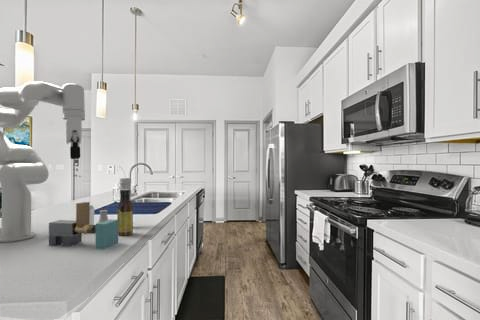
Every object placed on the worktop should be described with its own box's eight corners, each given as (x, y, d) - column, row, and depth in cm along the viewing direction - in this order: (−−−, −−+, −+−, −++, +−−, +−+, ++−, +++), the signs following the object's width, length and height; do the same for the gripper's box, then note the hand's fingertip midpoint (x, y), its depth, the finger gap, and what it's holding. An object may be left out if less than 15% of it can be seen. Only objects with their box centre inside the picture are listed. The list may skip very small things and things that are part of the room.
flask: (115, 231, 122) (116, 209, 122) (103, 235, 115) (103, 212, 115) (103, 230, 124) (103, 208, 125) (90, 233, 118) (90, 211, 118)
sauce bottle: (120, 232, 119) (120, 188, 119) (134, 232, 120) (134, 188, 120) (114, 236, 112) (115, 190, 113) (129, 236, 113) (130, 189, 113)
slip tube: (53, 233, 101) (53, 203, 101) (61, 230, 105) (62, 201, 105) (90, 234, 99) (91, 203, 99) (98, 232, 103) (98, 202, 103)
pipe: (126, 229, 126) (126, 166, 126) (115, 228, 127) (115, 166, 128) (133, 226, 131) (133, 166, 132) (122, 226, 132) (122, 166, 133)
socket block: (95, 248, 96) (95, 223, 96) (109, 242, 104) (109, 219, 104) (104, 249, 95) (105, 224, 96) (118, 242, 103) (118, 219, 104)
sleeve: (47, 245, 100) (47, 223, 101) (60, 241, 106) (60, 219, 106) (70, 246, 99) (71, 223, 99) (82, 242, 105) (82, 220, 105)
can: (77, 230, 124) (77, 204, 124) (94, 228, 127) (94, 203, 127) (75, 233, 118) (75, 206, 118) (93, 232, 121) (93, 205, 121)
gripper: (63, 119, 111) (64, 159, 111) (62, 110, 97) (63, 157, 96) (83, 120, 115) (85, 159, 115) (86, 112, 101) (87, 156, 100)
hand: (75, 158), depth 105 cm, fingers open, 9 cm apart
